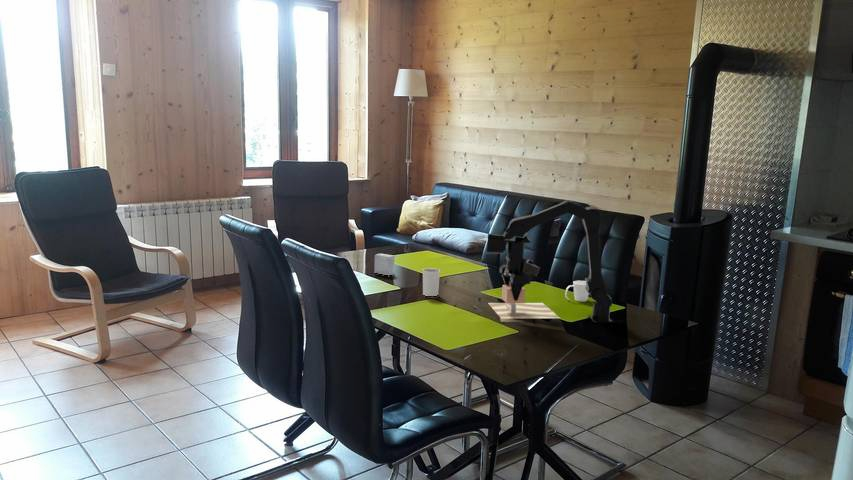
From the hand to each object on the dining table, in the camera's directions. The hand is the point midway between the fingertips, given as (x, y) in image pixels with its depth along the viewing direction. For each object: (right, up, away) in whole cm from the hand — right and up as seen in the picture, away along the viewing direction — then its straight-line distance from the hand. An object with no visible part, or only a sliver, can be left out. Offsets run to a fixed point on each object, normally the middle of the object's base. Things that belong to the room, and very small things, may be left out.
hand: (513, 298), depth 238 cm
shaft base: (+4, -6, +4) cm, 8 cm away
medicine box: (-49, +5, +58) cm, 76 cm away
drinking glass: (-29, -1, +25) cm, 38 cm away
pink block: (0, -1, 0) cm, 1 cm away
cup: (+27, -4, +21) cm, 35 cm away
